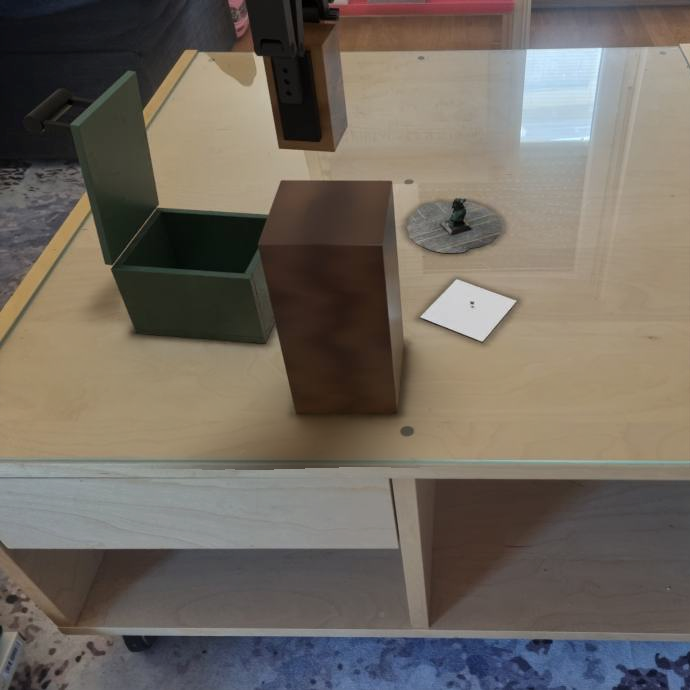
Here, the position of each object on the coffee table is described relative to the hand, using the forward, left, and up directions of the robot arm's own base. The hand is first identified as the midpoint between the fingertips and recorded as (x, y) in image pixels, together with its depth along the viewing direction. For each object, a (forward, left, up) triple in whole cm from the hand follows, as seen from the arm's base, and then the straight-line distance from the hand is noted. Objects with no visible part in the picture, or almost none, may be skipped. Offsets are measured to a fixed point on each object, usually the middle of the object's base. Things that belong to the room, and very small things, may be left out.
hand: (312, 122), depth 58 cm
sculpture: (+24, +17, -28) cm, 41 cm away
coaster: (+16, +2, -28) cm, 32 cm away
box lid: (-11, +23, -11) cm, 28 cm away
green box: (-7, +19, -28) cm, 34 cm away
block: (0, 0, -1) cm, 1 cm away
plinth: (0, 0, -28) cm, 28 cm away
